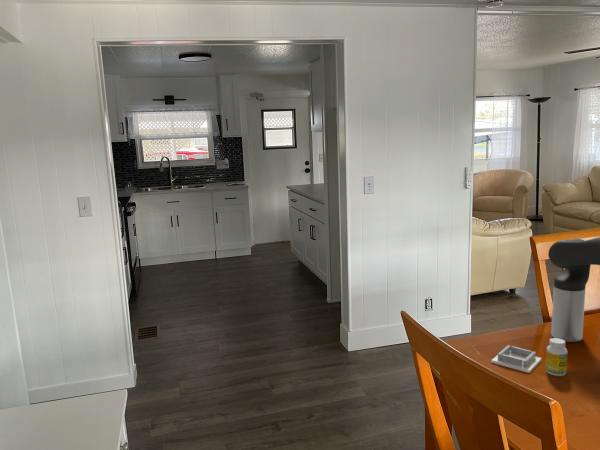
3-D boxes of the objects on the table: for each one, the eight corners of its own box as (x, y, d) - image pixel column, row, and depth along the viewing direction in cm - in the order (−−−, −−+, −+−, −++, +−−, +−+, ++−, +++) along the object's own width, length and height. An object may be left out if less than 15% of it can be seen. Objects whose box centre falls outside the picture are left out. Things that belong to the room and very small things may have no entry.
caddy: (504, 351, 157) (504, 342, 157) (541, 360, 150) (541, 351, 149) (491, 362, 150) (491, 353, 149) (529, 373, 142) (529, 363, 142)
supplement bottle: (552, 366, 146) (553, 335, 144) (570, 372, 142) (572, 341, 140) (541, 371, 143) (543, 339, 142) (559, 378, 139) (561, 346, 137)
